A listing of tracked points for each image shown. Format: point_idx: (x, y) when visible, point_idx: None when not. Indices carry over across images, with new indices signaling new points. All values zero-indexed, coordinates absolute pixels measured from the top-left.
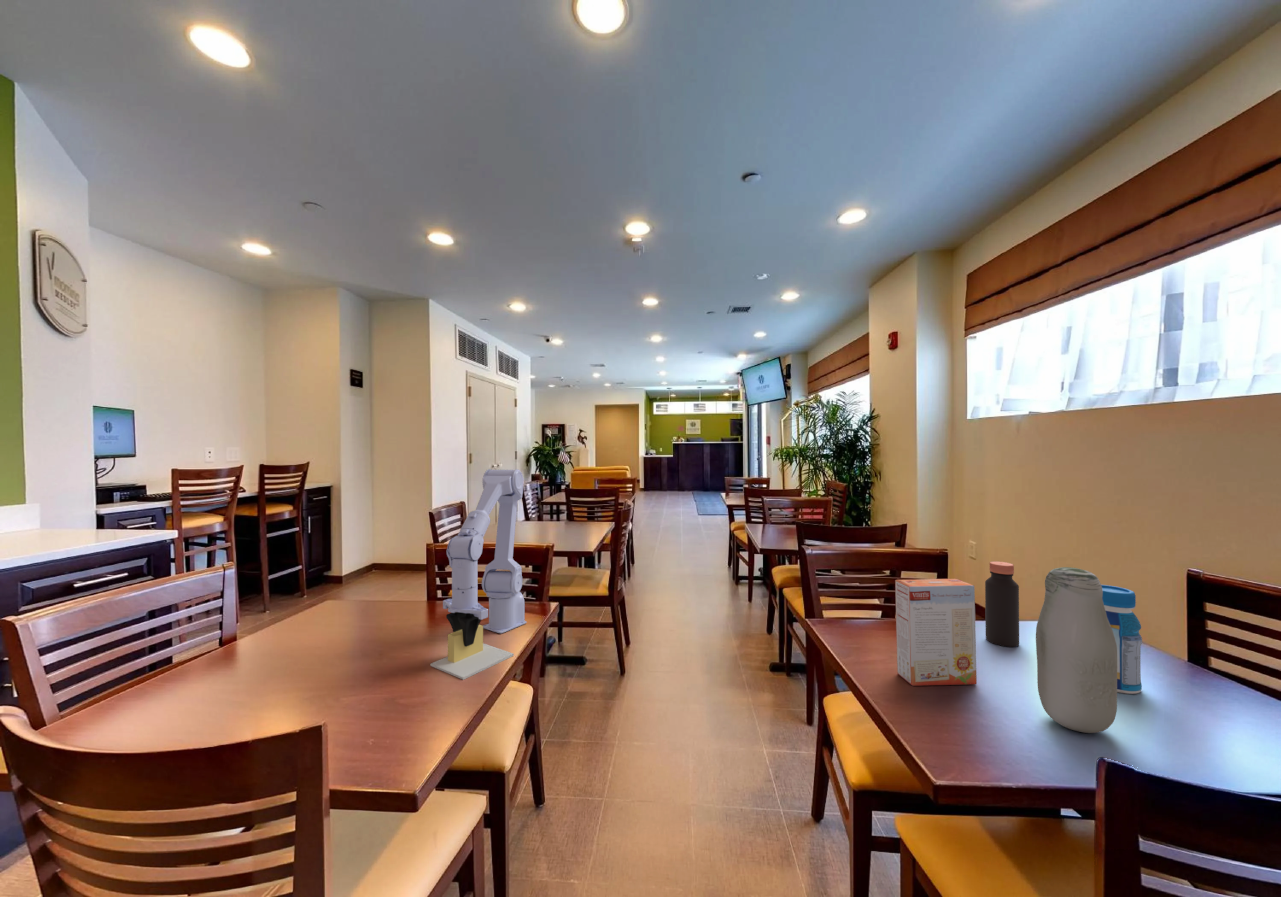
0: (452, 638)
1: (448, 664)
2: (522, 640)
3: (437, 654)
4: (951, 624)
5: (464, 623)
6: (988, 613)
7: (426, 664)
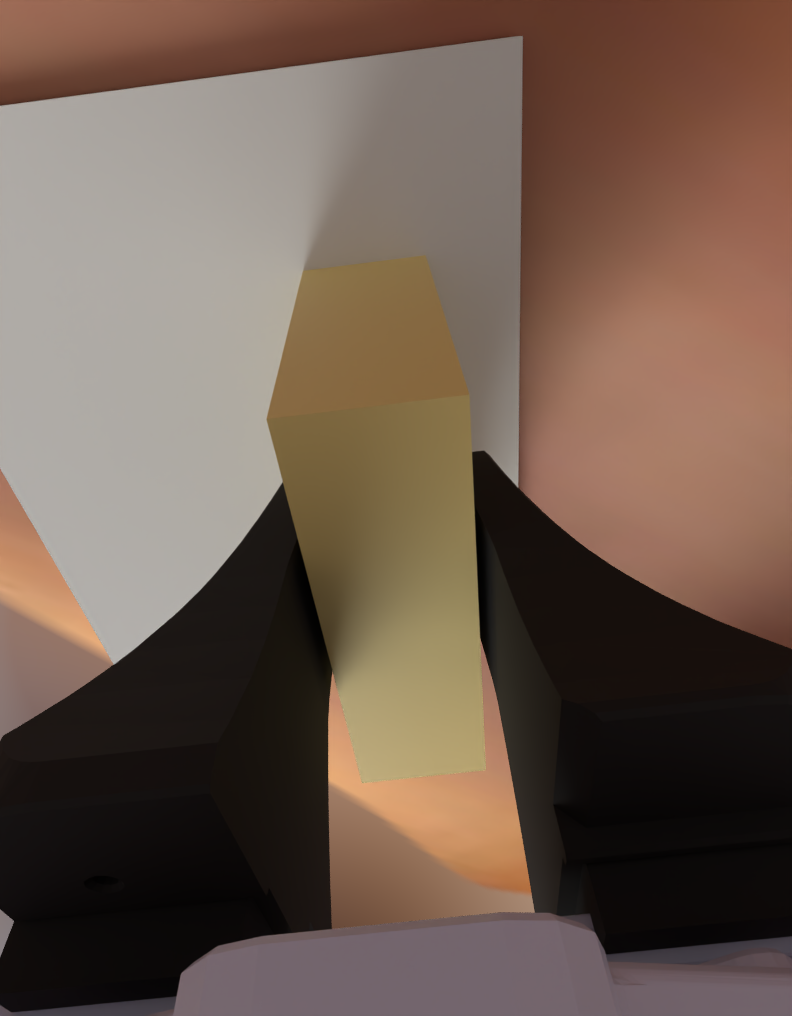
0: (322, 392)
1: (310, 200)
2: (331, 772)
3: (715, 277)
4: None
5: (36, 728)
6: None
7: (607, 23)
